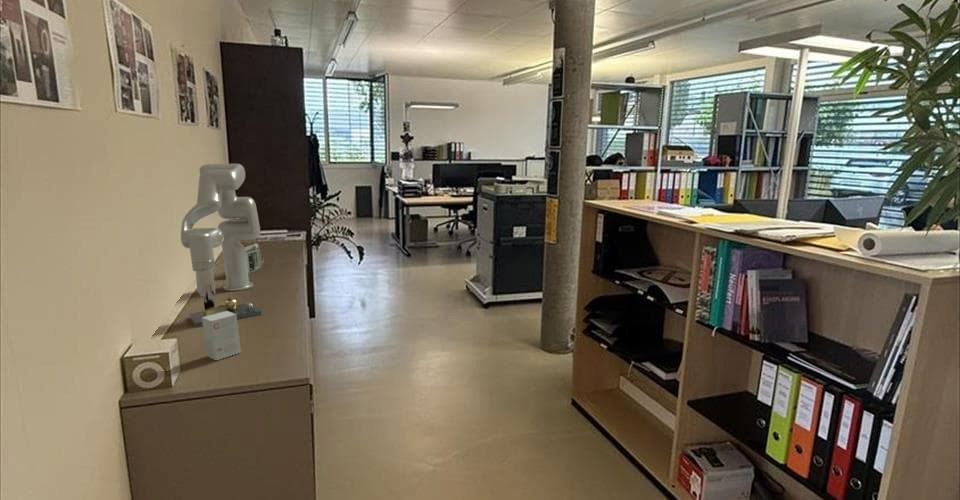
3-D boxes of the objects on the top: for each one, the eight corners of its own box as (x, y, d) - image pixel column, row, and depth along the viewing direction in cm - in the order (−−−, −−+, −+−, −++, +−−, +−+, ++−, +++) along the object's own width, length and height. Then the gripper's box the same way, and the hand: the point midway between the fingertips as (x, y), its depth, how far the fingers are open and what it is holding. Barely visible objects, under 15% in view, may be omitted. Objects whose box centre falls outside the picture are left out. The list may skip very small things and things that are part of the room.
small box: (232, 348, 171) (227, 310, 169) (241, 353, 167) (236, 314, 165) (206, 356, 165) (201, 316, 163) (215, 361, 161) (210, 321, 159)
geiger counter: (237, 250, 261) (266, 241, 285) (225, 250, 262) (256, 241, 286) (240, 278, 264) (269, 266, 288) (228, 277, 265) (258, 266, 289)
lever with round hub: (200, 319, 196) (199, 308, 195) (230, 306, 210) (229, 296, 209) (210, 320, 194) (208, 308, 193) (239, 307, 209) (238, 297, 208)
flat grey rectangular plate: (189, 317, 203) (188, 307, 203) (252, 305, 217) (251, 296, 216) (195, 327, 192) (194, 316, 191) (261, 314, 205) (260, 304, 205)
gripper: (189, 262, 200) (195, 308, 204) (195, 270, 188) (202, 319, 193) (211, 259, 205) (217, 304, 209) (218, 267, 193) (224, 314, 197)
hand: (210, 311), depth 201 cm, fingers closed
